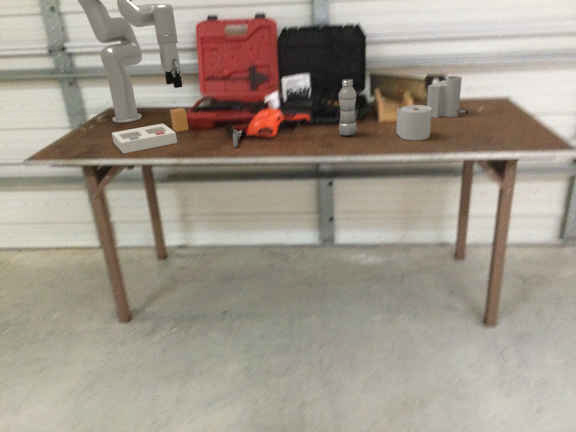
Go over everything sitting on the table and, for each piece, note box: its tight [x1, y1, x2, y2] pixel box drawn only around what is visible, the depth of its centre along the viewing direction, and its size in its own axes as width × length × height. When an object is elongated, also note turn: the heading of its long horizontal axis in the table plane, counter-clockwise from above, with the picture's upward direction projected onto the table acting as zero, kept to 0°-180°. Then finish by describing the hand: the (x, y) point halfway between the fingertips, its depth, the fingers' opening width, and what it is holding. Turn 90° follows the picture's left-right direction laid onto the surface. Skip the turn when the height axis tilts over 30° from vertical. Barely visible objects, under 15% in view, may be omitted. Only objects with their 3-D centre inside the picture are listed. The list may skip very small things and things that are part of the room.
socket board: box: [111, 122, 178, 154], centre depth 193 cm, size 16×20×5 cm
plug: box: [169, 107, 189, 133], centre depth 206 cm, size 5×5×8 cm
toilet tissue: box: [395, 104, 432, 141], centre depth 181 cm, size 11×12×10 cm
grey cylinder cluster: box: [426, 75, 469, 119], centre depth 202 cm, size 12×14×15 cm
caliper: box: [232, 129, 242, 148], centre depth 190 cm, size 20×1×6 cm, turn 174°
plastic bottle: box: [338, 78, 357, 136], centre depth 184 cm, size 6×7×20 cm
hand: (174, 85), depth 200 cm, fingers open, 9 cm apart
